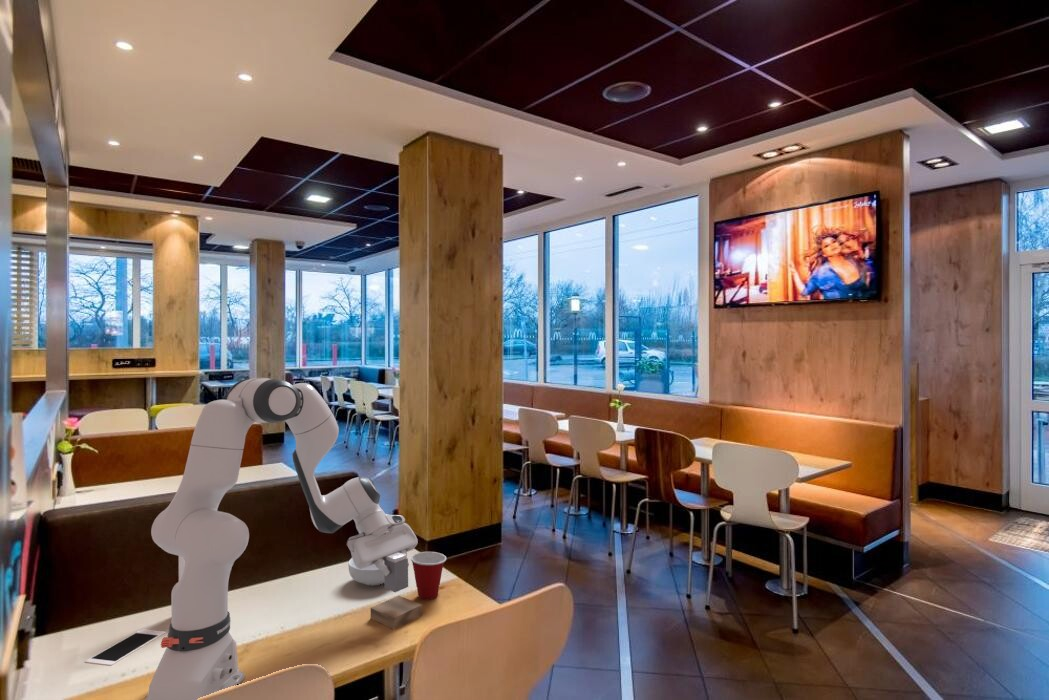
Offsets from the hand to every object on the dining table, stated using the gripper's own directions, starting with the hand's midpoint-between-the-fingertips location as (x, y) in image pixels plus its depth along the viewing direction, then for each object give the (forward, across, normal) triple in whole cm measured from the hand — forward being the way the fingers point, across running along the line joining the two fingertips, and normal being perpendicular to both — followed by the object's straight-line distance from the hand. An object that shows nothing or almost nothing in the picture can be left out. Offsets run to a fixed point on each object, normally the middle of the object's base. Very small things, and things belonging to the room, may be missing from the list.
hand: (397, 570), depth 158 cm
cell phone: (-21, -52, +40) cm, 68 cm away
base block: (+9, 0, +10) cm, 13 cm away
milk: (-25, -34, +44) cm, 61 cm away
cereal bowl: (-9, +12, +28) cm, 31 cm away
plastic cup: (+7, +15, +12) cm, 20 cm away
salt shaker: (+3, 0, +4) cm, 5 cm away
